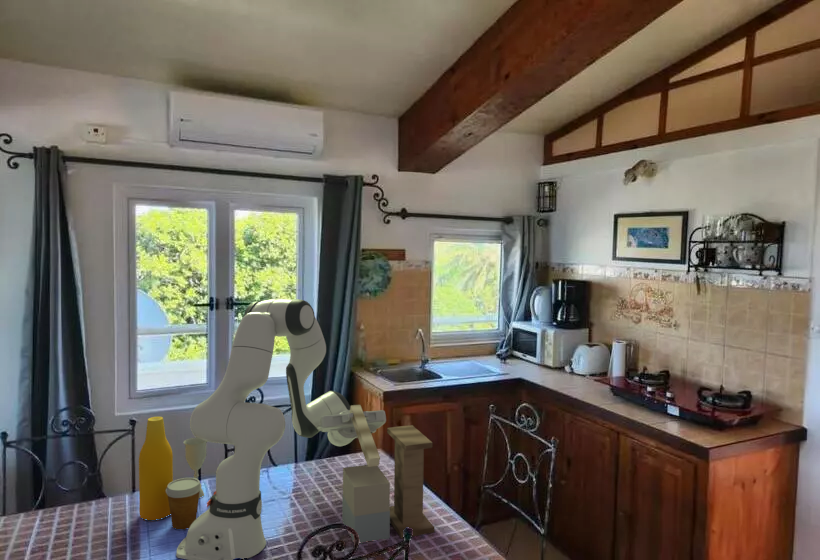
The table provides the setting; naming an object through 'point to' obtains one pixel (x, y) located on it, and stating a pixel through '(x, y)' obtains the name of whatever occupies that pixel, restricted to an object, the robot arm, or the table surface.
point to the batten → (365, 436)
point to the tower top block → (366, 490)
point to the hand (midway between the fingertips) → (358, 414)
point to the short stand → (409, 481)
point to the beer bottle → (155, 471)
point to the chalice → (195, 455)
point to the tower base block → (367, 524)
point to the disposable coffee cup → (183, 501)
